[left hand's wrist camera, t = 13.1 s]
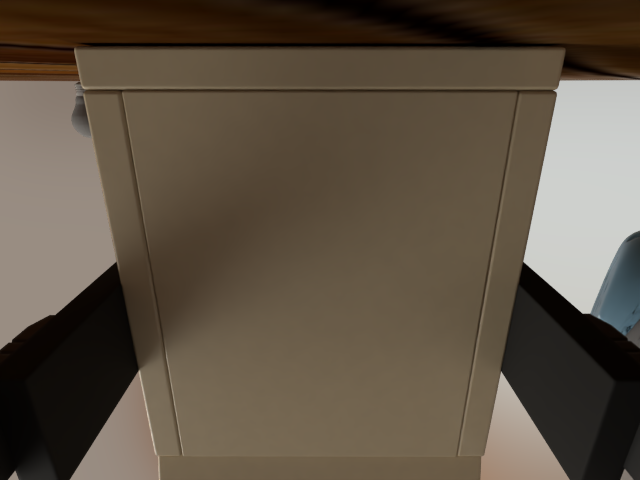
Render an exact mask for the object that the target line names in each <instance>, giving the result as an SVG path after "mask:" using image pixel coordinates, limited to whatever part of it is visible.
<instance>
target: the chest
mask: <svg viewBox="0 0 640 480" xmlns="http://www.w3.org/2000/svg"><path fill="white" fill-rule="evenodd" d="M74 52H75V57H76V62H77V67H78V72H79V77H80V82H81V86H82V88H83V89H86V90H87V91H85V92H84V93H83V96H84V101H85V106H86V111H87V116H88V121H89V126H90V131H91V136H92V141H93V146H94V151H95V156H96V161H97V166H98V171H99V176H100V181H101V186H102V191H103V196H104V201H105V206H106V211H107V216H108V221H109V226H110V231H111V236H112V241H113V246H114V251H115V256H116V261H117V266H118V271H119V276H120V281H121V286H122V291H123V296H124V301H125V306H126V311H127V316H128V321H129V326H130V331H131V336H132V341H133V346H134V351H135V356H136V361H137V366H138V371H139V376H140V381H141V385H142V390H143V395H144V400H145V405H146V410H147V415H148V420H149V425H150V430H151V435H152V440H153V445H154V450H155V454H156V455H157V456H180V455H182V454H183V456H306V457H455V456H457V455H458V456H483V455H484V453H485V448H486V443H487V438H488V433H489V428H490V423H491V418H492V413H493V408H494V403H495V398H496V394H497V388H498V383H499V378H500V374H501V369H502V364H503V359H504V354H505V349H506V344H507V339H508V334H509V329H510V324H511V319H512V314H513V309H514V304H515V299H516V295H517V290H518V285H519V280H520V275H521V270H522V265H523V260H524V255H525V250H526V245H527V240H528V235H529V230H530V225H531V220H532V215H533V210H534V205H535V200H536V195H537V190H538V186H539V181H540V176H541V171H542V166H543V161H544V156H545V151H546V146H547V141H548V136H549V131H550V126H551V121H552V116H553V111H554V106H555V101H556V97H557V93H556V92H555V91H553V90H555V89H557V88H558V86H559V81H560V76H561V71H562V66H563V61H564V56H565V48H564V47H562V46H77V47H75V49H74Z"/></svg>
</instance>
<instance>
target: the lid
mask: <svg viewBox="0 0 640 480" xmlns="http://www.w3.org/2000/svg"><path fill="white" fill-rule="evenodd" d="M158 463H159V480H480V472H481V456H458V455H457V456H455V457H306V456H183V454H182V455H180V456H158Z"/></svg>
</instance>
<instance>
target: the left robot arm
mask: <svg viewBox="0 0 640 480" xmlns="http://www.w3.org/2000/svg"><path fill="white" fill-rule="evenodd" d="M501 371H502V373H503V375H504V376H505V378H506V379H507V381H508V382H509V384H510V386H511V387H512V389H513V390H514V392H515V394H516V395H517V397H518V398H519V400H520V402H521V403H522V405H523V406H524V408H525V409H526V411H527V413H528V414H529V416H530V417H531V419H532V420H533V422H534V424H535V425H536V427H537V428H538V430H539V432H540V433H541V435H542V436H543V438H544V439H545V441H546V443H547V444H548V446H549V447H550V449H551V451H552V452H553V454H554V455H555V457H556V458H557V460H558V462H559V463H560V465H561V466H562V468H563V470H564V471H565V473H566V474H567V476H568V477H569V479H570V480H640V231H638V232H635V233H633V234H632V235H630V236H629V237H627V238H626V239H625V240H624V242H623V243H622V244H621V246H620V247H619V249H618V251H617V253H616V255H615V257H614V259H613V261H612V263H611V266H610V268H609V270H608V272H607V274H606V277H605V279H604V281H603V284H602V286H601V289H600V291H599V293H598V296H597V298H596V301H595V303H594V306H593V308H592V311H591V313H590V314H582V313H581V312H580V311H579V310H578V309H577V308H575V307H574V306H573V305H572V304H571V303H570V302H569V301H567V300H566V299H565V298H564V297H563V296H562V295H561V294H559V293H558V292H557V291H556V290H555V289H554V288H553V287H551V286H550V285H549V284H548V283H547V282H546V281H545V280H543V279H542V278H541V277H540V276H539V275H538V274H537V273H535V272H534V271H533V270H532V269H531V268H530V267H529V266H527V265H526V264H525V263H524V262H523V265H522V270H521V275H520V280H519V285H518V290H517V295H516V299H515V304H514V309H513V314H512V319H511V324H510V329H509V334H508V339H507V344H506V349H505V354H504V359H503V364H502V369H501ZM137 372H138V366H137V361H136V356H135V351H134V346H133V341H132V336H131V331H130V326H129V321H128V316H127V311H126V306H125V301H124V296H123V291H122V286H121V281H120V276H119V271H118V266H117V262H116V263H115V264H113V265H112V266H111V267H110V268H109V269H108V270H106V271H105V272H104V273H103V274H102V275H101V276H100V277H98V278H97V279H96V280H95V281H94V282H93V283H92V284H90V285H89V286H88V287H87V288H86V289H85V290H84V291H82V292H81V293H80V294H79V295H78V296H77V297H76V298H74V299H73V300H72V301H71V302H70V303H69V304H68V305H66V306H65V307H64V308H63V309H62V310H61V311H59V312H58V313H57V314H56V315H49V316H48V317H46V318H44V319H42V320H40V321H38V322H36V323H34V324H32V325H30V326H28V327H27V328H26V329H25V330H24V331H22V332H21V333H20V334H19V335H17V336H16V337H15V338H14V339H13V340H12V343H8V344H7V345H5V346H4V347H3V348H2V349H1V350H0V480H8V479H9V478H10V476H11V475H12V474H13V473H14V471H16V473H17V476H18V478H19V480H70V478H71V477H72V475H73V474H74V472H75V470H76V469H77V467H78V466H79V464H80V463H81V461H82V459H83V458H84V456H85V455H86V453H87V451H88V450H89V448H90V447H91V445H92V443H93V442H94V440H95V439H96V437H97V436H98V434H99V432H100V431H101V429H102V428H103V426H104V425H105V423H106V421H107V420H108V418H109V417H110V415H111V413H112V412H113V410H114V409H115V407H116V405H117V404H118V402H119V401H120V399H121V398H122V396H123V394H124V393H125V391H126V390H127V388H128V387H129V385H130V383H131V382H132V380H133V379H134V377H135V375H136V374H137Z"/></svg>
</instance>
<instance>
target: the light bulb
mask: <svg viewBox="0 0 640 480" xmlns="http://www.w3.org/2000/svg"><path fill="white" fill-rule="evenodd" d="M75 86H76V87H75V88H76V90H77V93H76V94H77V97H76V106H75V109H74V111H73V114H72V124H73V126H74V128H75V129H76V130H77V132H79V133H80V134H81V135H83V136H85V137H89V138H92V136H91V131H90V126H89V121H88V116H87V111H86V106H85V101H84V96H83V93H84V92H85V91H87V90H86V89H83V88H82V86H81V82H78V83H76V84H75Z"/></svg>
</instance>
